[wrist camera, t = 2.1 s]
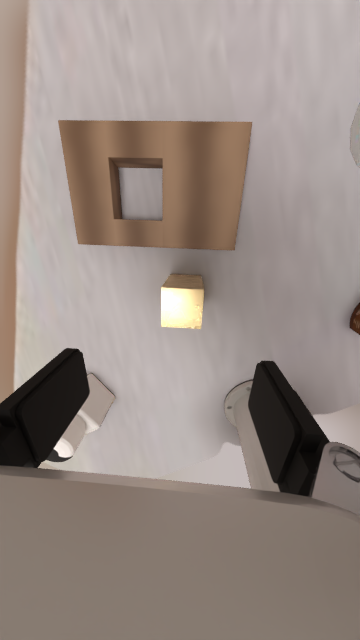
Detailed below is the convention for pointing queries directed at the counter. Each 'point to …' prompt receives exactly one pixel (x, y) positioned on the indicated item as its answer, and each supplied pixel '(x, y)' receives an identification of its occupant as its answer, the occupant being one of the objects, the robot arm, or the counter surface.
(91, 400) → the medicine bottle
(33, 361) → the counter surface
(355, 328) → the food container
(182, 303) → the brass peg
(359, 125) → the french press
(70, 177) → the walnut square hole board
